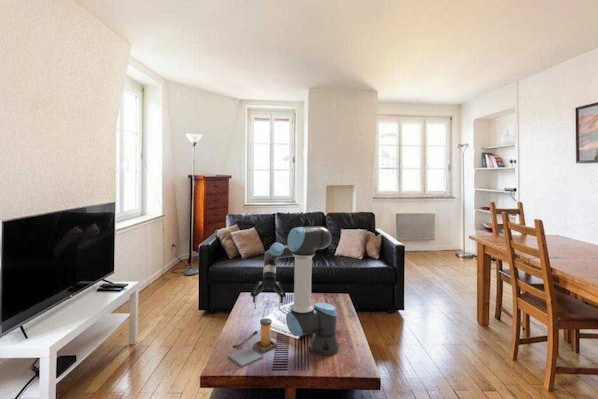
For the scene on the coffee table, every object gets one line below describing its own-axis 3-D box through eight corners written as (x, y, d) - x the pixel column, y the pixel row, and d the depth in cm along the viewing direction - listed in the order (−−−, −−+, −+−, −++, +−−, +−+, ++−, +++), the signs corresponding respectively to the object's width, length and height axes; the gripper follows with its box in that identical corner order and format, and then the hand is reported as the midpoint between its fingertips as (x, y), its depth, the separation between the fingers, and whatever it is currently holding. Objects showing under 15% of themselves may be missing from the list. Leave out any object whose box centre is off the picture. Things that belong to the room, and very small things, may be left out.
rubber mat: (262, 358, 160) (262, 356, 160) (242, 367, 152) (242, 365, 152) (248, 349, 169) (248, 347, 169) (228, 357, 160) (228, 355, 160)
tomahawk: (242, 352, 167) (242, 350, 167) (232, 348, 170) (232, 346, 170) (265, 335, 186) (265, 333, 186) (255, 331, 189) (255, 330, 189)
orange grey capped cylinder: (273, 347, 171) (273, 321, 171) (264, 350, 167) (264, 324, 167) (266, 342, 176) (266, 317, 175) (257, 346, 172) (257, 320, 171)
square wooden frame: (277, 347, 171) (277, 343, 171) (264, 352, 165) (264, 349, 165) (266, 341, 178) (266, 337, 178) (253, 346, 172) (253, 343, 172)
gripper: (290, 277, 199) (289, 311, 185) (249, 277, 198) (245, 310, 184) (290, 271, 193) (289, 305, 179) (248, 270, 193) (244, 305, 178)
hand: (267, 308), depth 181 cm, fingers open, 13 cm apart
